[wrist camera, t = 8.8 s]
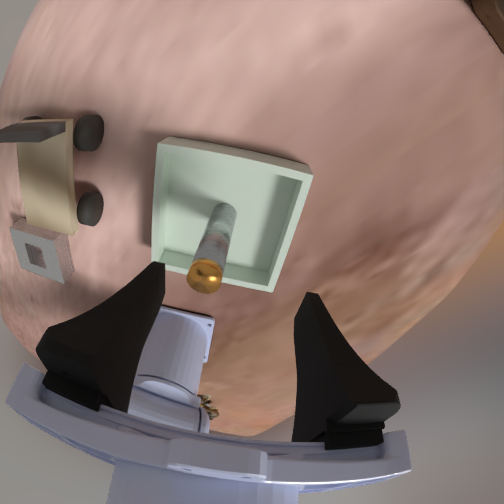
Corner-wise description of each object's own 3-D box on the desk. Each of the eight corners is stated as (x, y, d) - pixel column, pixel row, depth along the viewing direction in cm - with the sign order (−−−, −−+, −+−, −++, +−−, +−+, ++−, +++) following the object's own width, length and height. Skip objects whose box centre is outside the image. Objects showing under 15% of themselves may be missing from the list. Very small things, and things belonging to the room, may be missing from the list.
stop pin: (232, 227, 23) (215, 297, 16) (209, 220, 23) (183, 287, 16) (239, 207, 22) (225, 273, 15) (216, 199, 22) (190, 262, 15)
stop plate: (74, 270, 28) (64, 284, 26) (31, 256, 27) (21, 267, 25) (66, 228, 24) (53, 240, 22) (21, 217, 24) (9, 227, 22)
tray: (272, 274, 26) (272, 292, 24) (160, 250, 25) (151, 266, 23) (308, 165, 20) (313, 175, 18) (169, 136, 19) (157, 143, 17)
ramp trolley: (104, 216, 23) (65, 258, 18) (42, 203, 23) (2, 238, 17) (105, 112, 18) (51, 131, 12) (37, 113, 17) (-15, 133, 11)
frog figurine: (215, 385, 41) (212, 405, 38) (228, 412, 47) (226, 429, 44) (153, 380, 42) (147, 398, 39) (175, 407, 49) (171, 423, 45)
